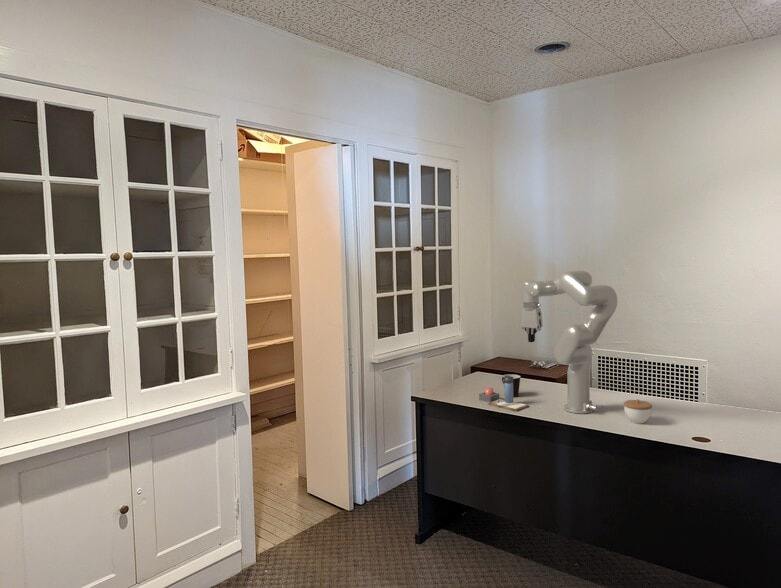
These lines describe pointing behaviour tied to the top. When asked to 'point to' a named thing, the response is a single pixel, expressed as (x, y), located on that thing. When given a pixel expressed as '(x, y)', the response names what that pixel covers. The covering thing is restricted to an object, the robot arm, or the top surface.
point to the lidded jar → (637, 411)
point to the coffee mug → (514, 384)
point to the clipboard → (508, 405)
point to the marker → (508, 389)
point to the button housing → (489, 397)
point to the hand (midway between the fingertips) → (531, 341)
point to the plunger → (488, 391)
